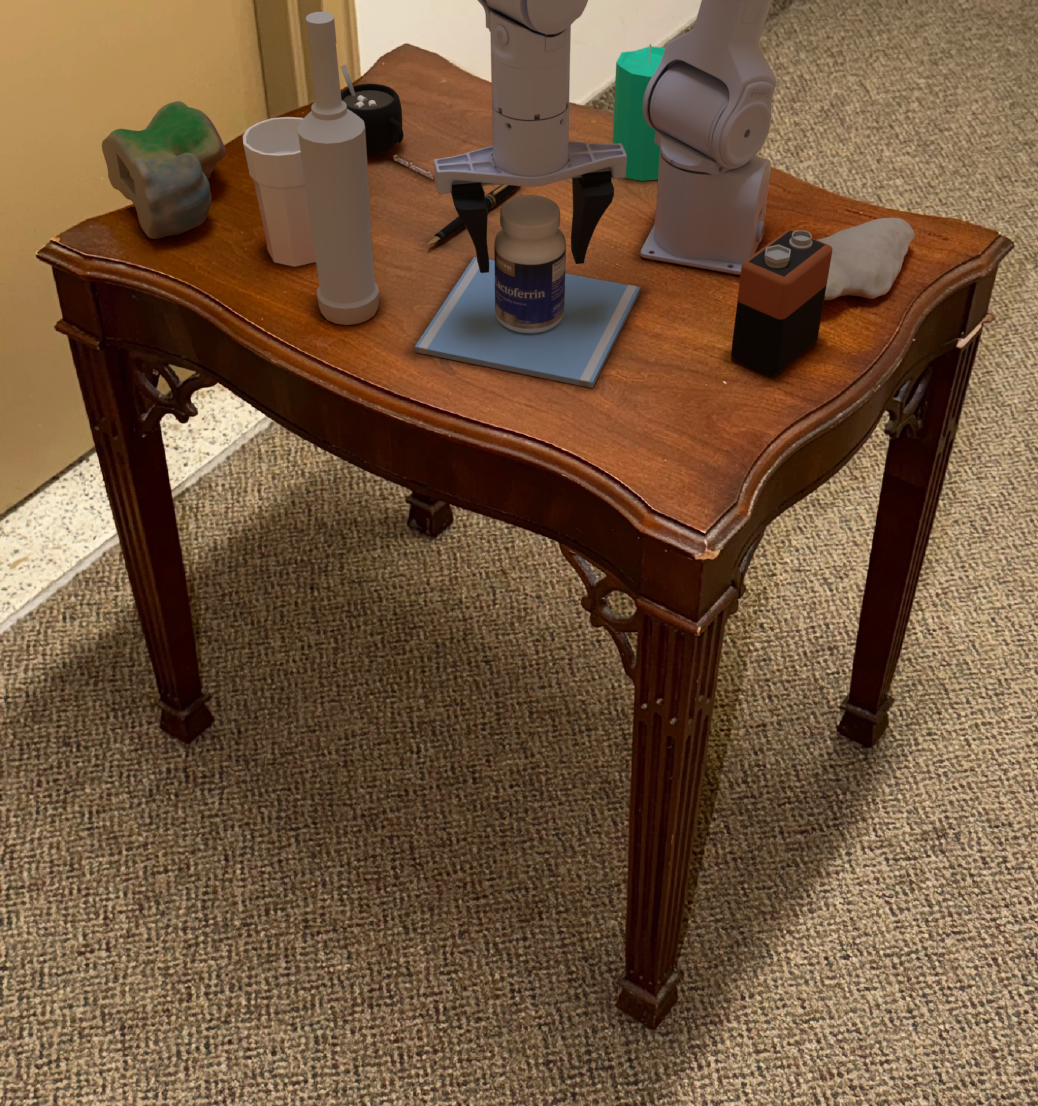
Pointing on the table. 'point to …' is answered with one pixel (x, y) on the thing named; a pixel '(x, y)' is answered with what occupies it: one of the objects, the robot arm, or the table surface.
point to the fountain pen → (491, 201)
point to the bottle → (337, 187)
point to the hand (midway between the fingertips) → (530, 261)
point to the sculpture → (166, 168)
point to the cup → (280, 189)
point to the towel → (552, 354)
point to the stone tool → (867, 257)
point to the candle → (636, 112)
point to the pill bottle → (529, 265)
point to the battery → (780, 301)
